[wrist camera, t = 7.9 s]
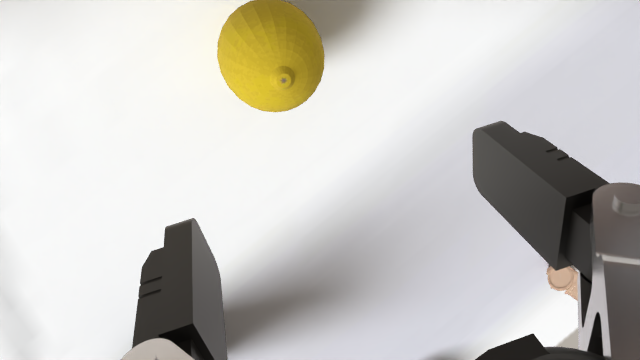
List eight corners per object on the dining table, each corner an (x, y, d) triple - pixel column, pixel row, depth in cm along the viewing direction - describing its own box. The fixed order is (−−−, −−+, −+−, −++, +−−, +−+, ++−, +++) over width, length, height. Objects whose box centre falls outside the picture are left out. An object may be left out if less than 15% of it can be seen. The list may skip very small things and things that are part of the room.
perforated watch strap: (551, 251, 45) (588, 286, 41) (578, 262, 47) (615, 297, 43) (533, 270, 46) (567, 306, 42) (561, 280, 48) (595, 316, 44)
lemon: (305, -15, 26) (345, 16, 20) (305, 77, 29) (339, 130, 23) (208, -13, 25) (216, 20, 18) (218, 82, 28) (227, 140, 21)
